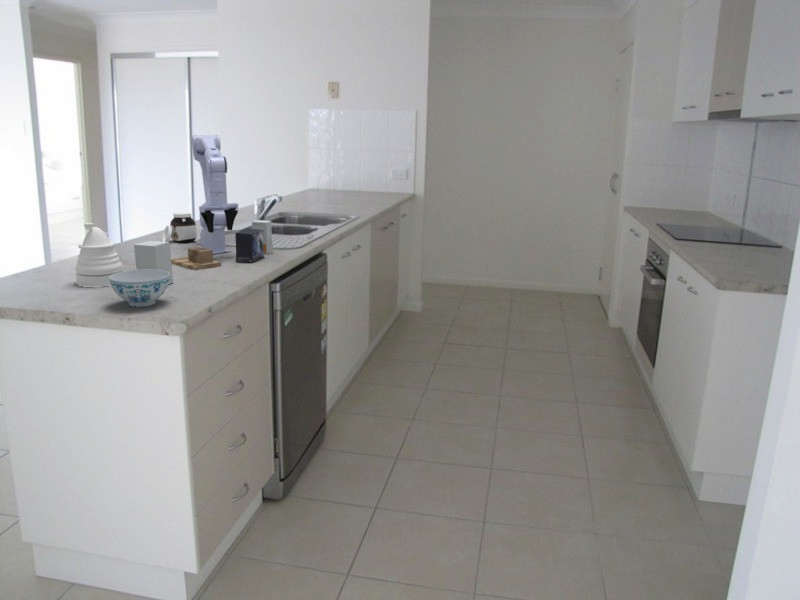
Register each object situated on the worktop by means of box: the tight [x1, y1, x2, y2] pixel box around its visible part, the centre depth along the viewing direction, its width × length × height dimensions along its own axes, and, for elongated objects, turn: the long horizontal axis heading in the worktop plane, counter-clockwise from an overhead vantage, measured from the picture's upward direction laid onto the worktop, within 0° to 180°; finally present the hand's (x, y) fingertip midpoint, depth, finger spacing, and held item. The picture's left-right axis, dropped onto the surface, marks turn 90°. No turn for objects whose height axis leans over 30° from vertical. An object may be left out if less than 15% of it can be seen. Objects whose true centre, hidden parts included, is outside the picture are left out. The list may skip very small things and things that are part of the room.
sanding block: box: [187, 246, 214, 265], centre depth 222 cm, size 8×4×4 cm, turn 48°
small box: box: [234, 228, 265, 264], centre depth 233 cm, size 11×6×10 cm, turn 169°
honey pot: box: [75, 222, 124, 287], centre depth 196 cm, size 13×13×18 cm
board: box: [171, 256, 222, 271], centre depth 225 cm, size 16×10×1 cm, turn 48°
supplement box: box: [133, 240, 174, 285], centre depth 195 cm, size 7×7×13 cm
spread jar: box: [162, 211, 198, 244], centre depth 265 cm, size 12×11×12 cm
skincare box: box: [251, 219, 273, 255], centre depth 245 cm, size 6×4×12 cm
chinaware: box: [109, 269, 170, 308], centre depth 175 cm, size 15×15×8 cm
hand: (220, 231), depth 233 cm, fingers open, 7 cm apart
